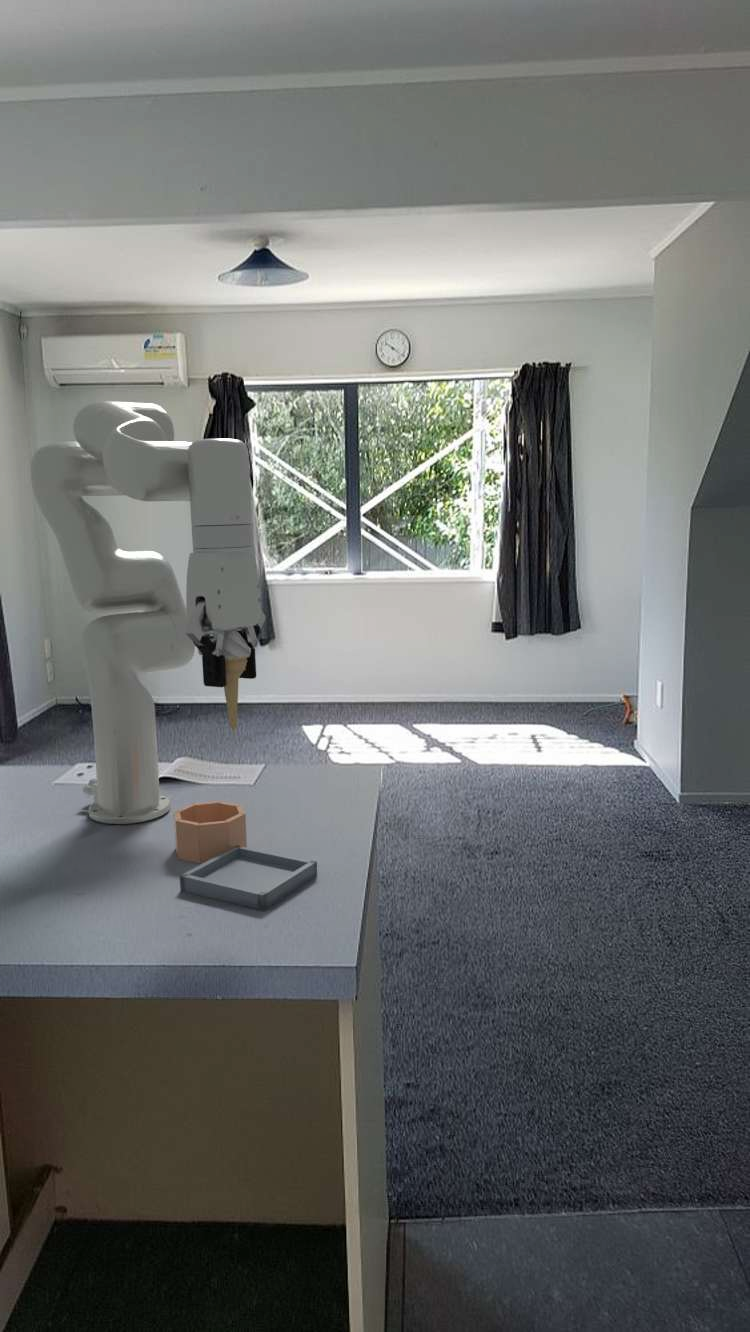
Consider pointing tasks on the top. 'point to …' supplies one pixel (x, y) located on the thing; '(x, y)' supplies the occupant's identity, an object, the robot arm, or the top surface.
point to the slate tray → (249, 877)
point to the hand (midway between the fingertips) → (230, 680)
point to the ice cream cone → (233, 669)
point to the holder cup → (208, 830)
